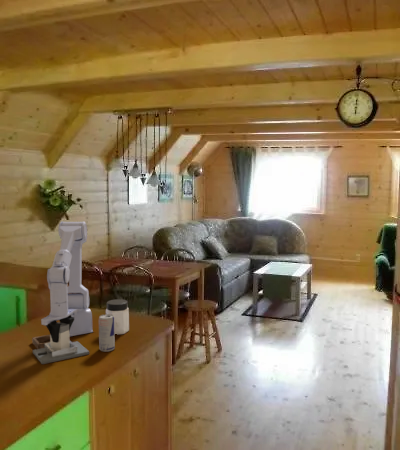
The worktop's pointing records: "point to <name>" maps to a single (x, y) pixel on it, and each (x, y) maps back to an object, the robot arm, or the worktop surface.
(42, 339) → the brown square tray
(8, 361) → the worktop surface
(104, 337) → the energy drink
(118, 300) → the jar
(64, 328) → the plug
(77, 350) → the socket board
